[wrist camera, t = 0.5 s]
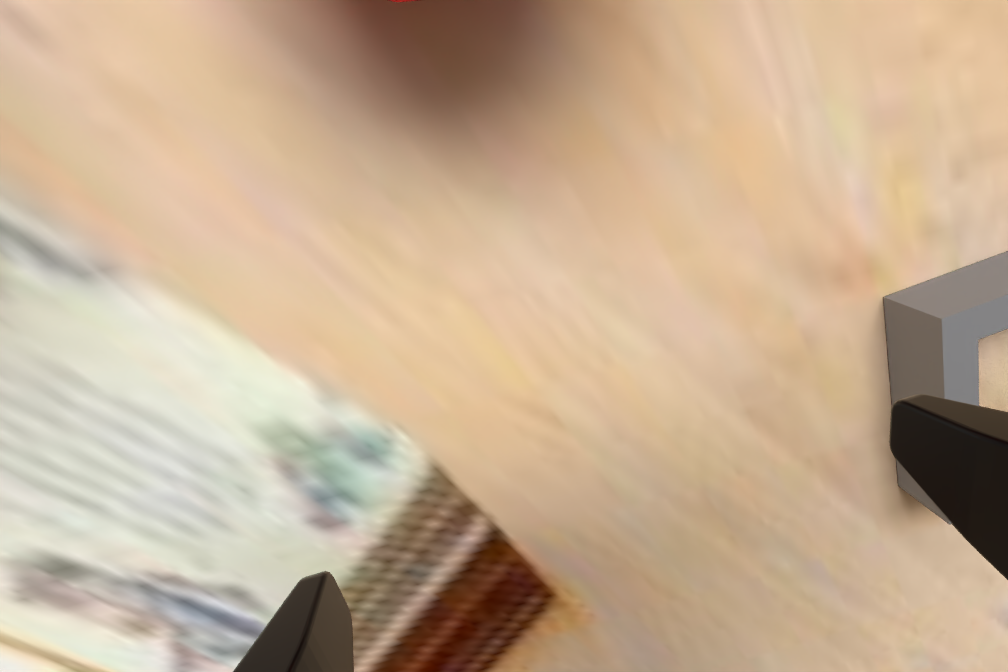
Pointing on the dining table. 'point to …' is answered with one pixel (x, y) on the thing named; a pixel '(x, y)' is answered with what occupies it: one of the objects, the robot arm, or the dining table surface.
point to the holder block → (943, 339)
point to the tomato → (402, 0)
